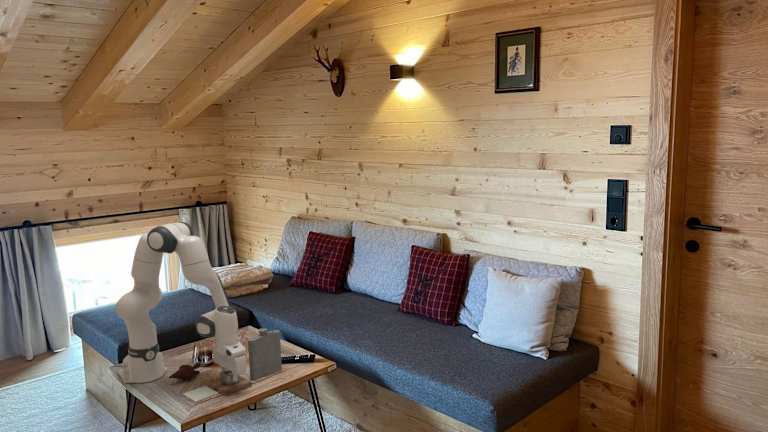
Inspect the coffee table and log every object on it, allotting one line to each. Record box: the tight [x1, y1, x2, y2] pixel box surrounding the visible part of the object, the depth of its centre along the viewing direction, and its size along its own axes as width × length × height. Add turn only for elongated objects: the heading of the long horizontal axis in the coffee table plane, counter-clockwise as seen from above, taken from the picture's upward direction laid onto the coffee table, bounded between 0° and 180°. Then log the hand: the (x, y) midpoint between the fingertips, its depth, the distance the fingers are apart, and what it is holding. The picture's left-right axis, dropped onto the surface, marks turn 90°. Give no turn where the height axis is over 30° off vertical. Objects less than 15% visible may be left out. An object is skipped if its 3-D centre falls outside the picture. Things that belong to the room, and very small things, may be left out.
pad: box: [182, 385, 219, 403], centre depth 242 cm, size 10×10×1 cm
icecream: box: [168, 362, 202, 382], centre depth 255 cm, size 7×7×15 cm
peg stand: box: [209, 372, 253, 397], centre depth 248 cm, size 12×12×6 cm
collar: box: [219, 369, 241, 386], centre depth 247 cm, size 6×6×4 cm
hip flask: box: [247, 327, 283, 382], centre depth 258 cm, size 16×4×20 cm, turn 138°
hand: (230, 378), depth 247 cm, fingers closed on collar, 6 cm apart
